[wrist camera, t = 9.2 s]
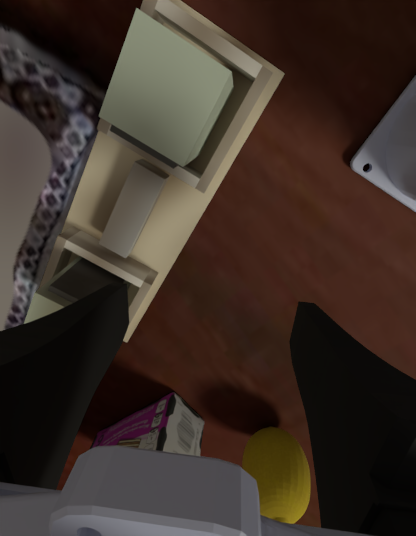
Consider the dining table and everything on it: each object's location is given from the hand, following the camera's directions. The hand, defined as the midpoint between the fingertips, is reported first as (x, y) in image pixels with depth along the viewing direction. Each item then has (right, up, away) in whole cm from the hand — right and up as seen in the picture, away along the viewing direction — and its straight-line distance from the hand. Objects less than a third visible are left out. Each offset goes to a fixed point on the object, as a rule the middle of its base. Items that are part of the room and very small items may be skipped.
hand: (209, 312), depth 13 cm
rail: (-5, +6, +8) cm, 11 cm away
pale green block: (-1, +11, +5) cm, 12 cm away
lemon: (+6, -13, +16) cm, 22 cm away
